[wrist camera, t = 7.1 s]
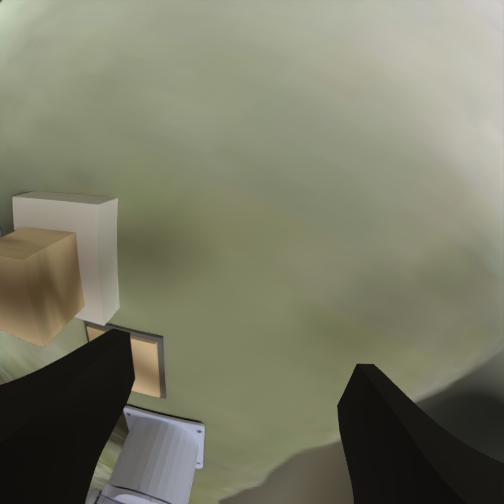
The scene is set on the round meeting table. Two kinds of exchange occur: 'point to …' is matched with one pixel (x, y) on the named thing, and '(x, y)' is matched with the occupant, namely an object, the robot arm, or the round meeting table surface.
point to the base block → (80, 242)
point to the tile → (140, 358)
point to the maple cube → (39, 283)
